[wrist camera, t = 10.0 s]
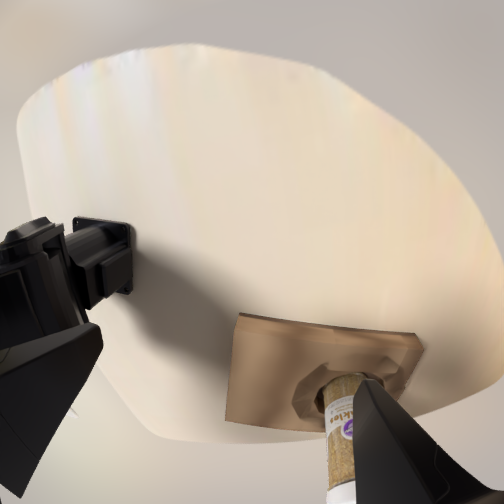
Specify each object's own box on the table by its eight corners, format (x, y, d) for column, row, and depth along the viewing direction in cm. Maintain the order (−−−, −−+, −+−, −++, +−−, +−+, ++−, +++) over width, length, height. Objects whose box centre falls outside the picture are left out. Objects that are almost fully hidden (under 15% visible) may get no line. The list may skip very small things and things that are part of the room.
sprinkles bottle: (361, 360, 22) (391, 493, 9) (371, 389, 23) (395, 506, 10) (314, 377, 23) (318, 510, 10) (328, 404, 24) (335, 521, 11)
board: (229, 403, 26) (224, 420, 24) (239, 312, 22) (234, 329, 20) (371, 416, 25) (375, 432, 23) (416, 333, 21) (426, 349, 19)
